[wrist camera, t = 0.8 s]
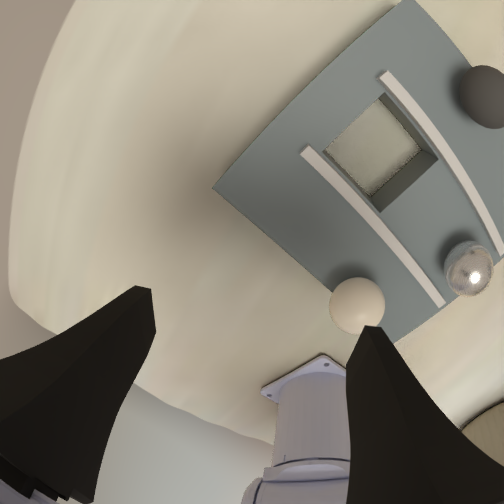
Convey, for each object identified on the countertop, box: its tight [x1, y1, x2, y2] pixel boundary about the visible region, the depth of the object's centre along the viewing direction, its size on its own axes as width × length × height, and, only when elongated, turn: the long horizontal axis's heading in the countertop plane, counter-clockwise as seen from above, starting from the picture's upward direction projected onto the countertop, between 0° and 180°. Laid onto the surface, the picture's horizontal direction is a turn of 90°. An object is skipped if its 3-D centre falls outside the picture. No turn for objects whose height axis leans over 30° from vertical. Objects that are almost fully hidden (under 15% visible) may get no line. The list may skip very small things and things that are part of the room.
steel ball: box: [444, 240, 493, 297], centre depth 14 cm, size 3×3×3 cm
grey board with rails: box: [212, 0, 504, 343], centre depth 15 cm, size 16×15×3 cm
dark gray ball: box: [459, 65, 504, 129], centre depth 10 cm, size 3×3×3 cm
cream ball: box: [329, 277, 385, 334], centre depth 16 cm, size 3×3×3 cm
